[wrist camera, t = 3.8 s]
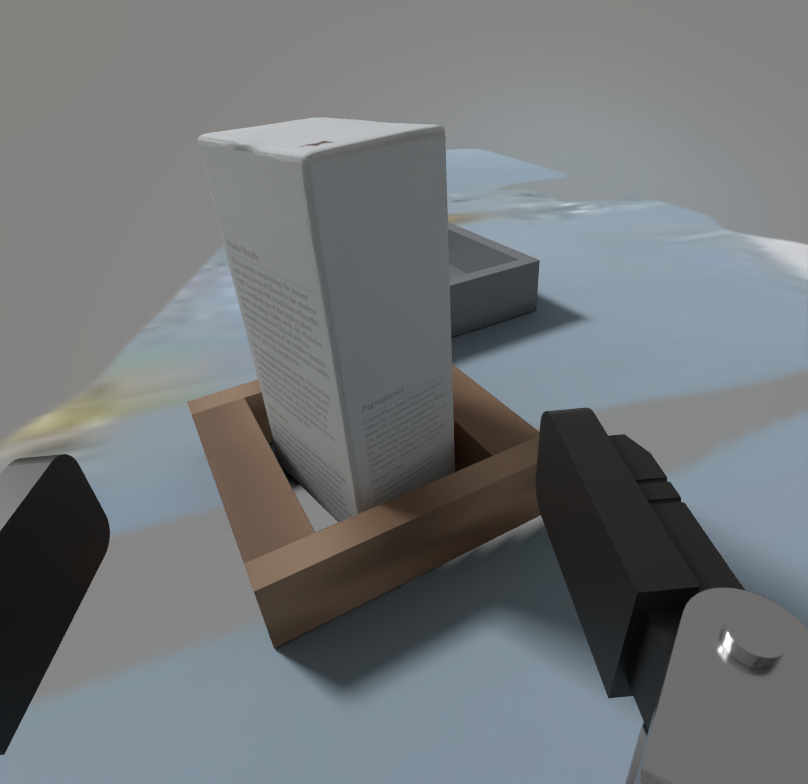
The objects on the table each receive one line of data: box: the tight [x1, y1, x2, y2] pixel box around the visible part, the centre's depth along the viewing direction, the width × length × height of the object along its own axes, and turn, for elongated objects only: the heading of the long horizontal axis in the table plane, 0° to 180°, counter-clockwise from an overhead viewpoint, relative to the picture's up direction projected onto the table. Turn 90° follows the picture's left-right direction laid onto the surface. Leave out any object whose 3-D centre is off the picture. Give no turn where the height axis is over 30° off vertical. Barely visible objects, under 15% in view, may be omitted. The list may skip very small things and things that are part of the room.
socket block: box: [187, 364, 541, 648], centre depth 20 cm, size 10×10×2 cm
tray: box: [448, 223, 540, 338], centre depth 33 cm, size 11×13×3 cm
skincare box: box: [198, 118, 455, 522], centre depth 17 cm, size 6×4×12 cm
